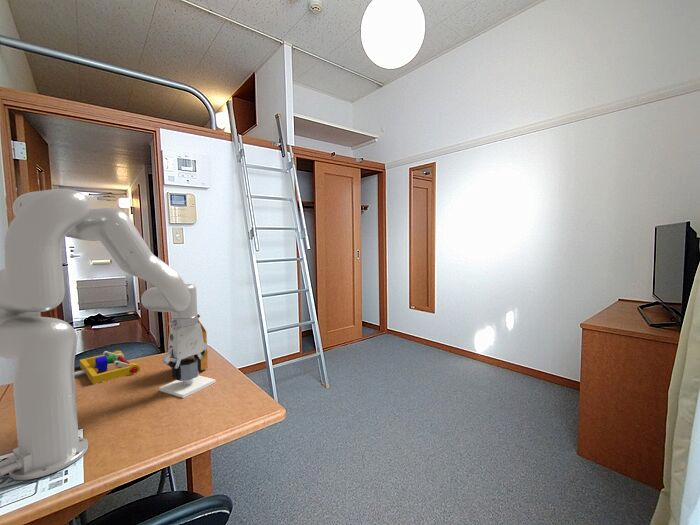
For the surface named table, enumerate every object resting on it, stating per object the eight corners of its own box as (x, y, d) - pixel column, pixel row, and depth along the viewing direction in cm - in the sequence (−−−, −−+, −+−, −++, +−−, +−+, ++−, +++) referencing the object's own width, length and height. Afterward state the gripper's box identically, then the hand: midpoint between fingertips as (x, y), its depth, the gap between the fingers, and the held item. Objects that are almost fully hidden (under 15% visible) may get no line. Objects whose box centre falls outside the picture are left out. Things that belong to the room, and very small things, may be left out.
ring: (184, 382, 100) (184, 366, 99) (171, 378, 103) (170, 363, 102) (202, 374, 106) (202, 359, 105) (189, 371, 109) (189, 356, 108)
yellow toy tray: (119, 341, 136) (140, 357, 116) (119, 356, 136) (141, 374, 116) (62, 353, 122) (75, 373, 102) (63, 369, 122) (76, 392, 103)
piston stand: (183, 398, 96) (182, 382, 96) (159, 390, 102) (158, 375, 101) (215, 382, 107) (215, 368, 107) (192, 376, 112) (191, 362, 112)
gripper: (166, 329, 94) (169, 387, 95) (214, 317, 109) (216, 367, 110) (151, 326, 97) (154, 383, 98) (200, 315, 113) (202, 364, 114)
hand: (187, 374), depth 104 cm, fingers closed on ring, 6 cm apart
